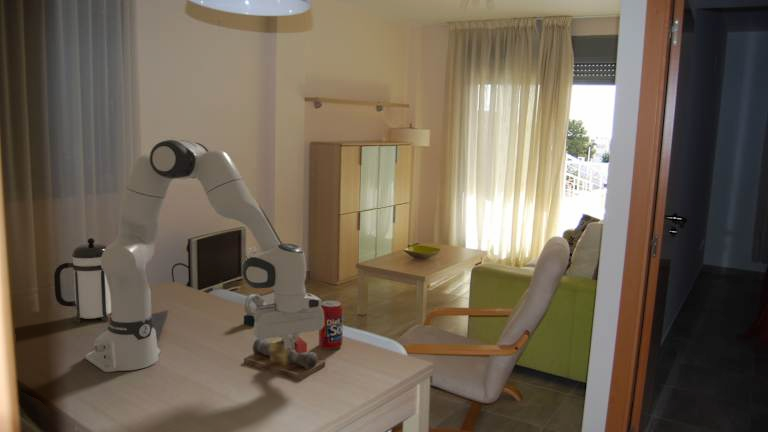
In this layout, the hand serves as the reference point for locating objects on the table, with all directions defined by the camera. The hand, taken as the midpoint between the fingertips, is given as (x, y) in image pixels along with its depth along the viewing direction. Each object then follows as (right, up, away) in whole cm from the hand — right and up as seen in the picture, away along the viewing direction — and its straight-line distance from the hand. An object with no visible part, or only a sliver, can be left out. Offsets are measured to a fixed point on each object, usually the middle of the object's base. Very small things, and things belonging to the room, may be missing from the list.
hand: (289, 348), depth 164 cm
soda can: (+9, -6, +28) cm, 30 cm away
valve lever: (0, 0, +5) cm, 5 cm away
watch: (-21, -2, +47) cm, 52 cm away
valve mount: (-4, -8, +12) cm, 15 cm away
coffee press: (-81, 0, +47) cm, 94 cm away
